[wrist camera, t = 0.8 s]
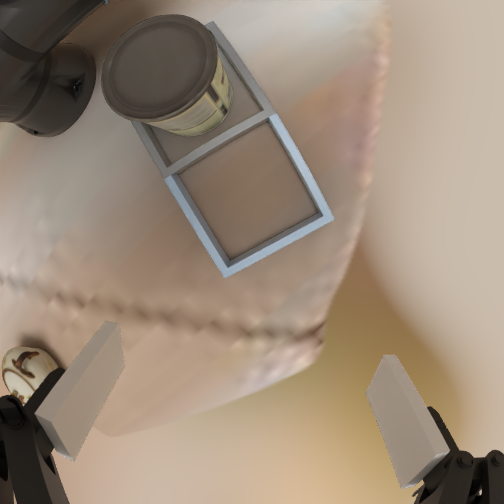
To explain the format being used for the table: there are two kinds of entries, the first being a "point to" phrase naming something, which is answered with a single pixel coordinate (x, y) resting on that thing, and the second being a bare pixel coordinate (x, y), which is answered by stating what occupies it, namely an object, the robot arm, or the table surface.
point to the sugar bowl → (26, 370)
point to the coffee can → (168, 76)
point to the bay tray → (173, 170)
